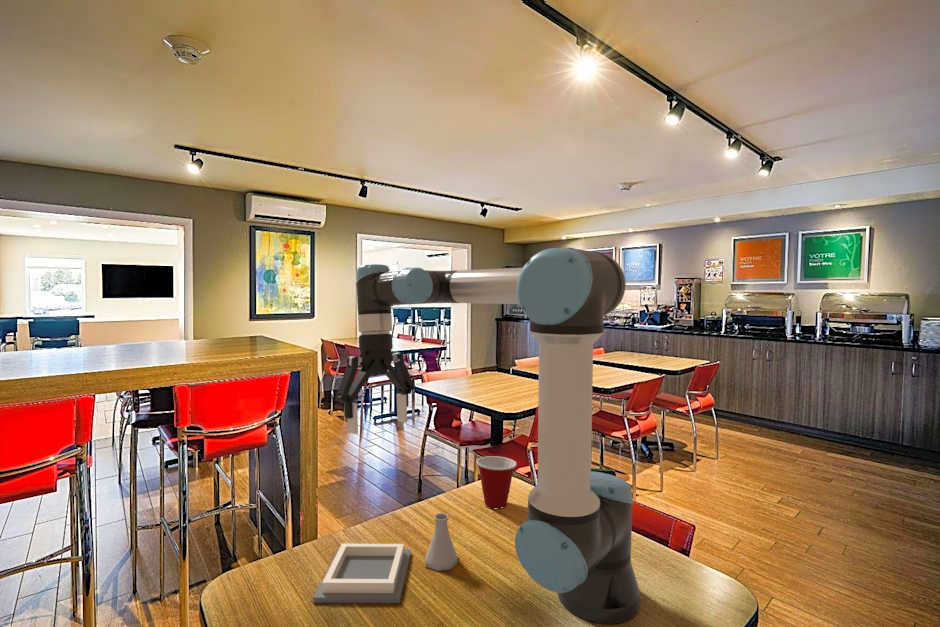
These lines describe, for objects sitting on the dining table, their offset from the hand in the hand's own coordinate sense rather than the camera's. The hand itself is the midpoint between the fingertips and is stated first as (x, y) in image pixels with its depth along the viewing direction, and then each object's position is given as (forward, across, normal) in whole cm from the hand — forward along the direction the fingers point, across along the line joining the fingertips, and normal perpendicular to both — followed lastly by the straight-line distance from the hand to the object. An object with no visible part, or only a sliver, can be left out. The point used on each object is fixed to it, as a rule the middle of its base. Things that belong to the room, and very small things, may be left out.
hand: (378, 427), depth 106 cm
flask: (+28, -5, +13) cm, 32 cm away
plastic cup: (+26, -34, +5) cm, 43 cm away
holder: (+28, +9, +6) cm, 30 cm away
